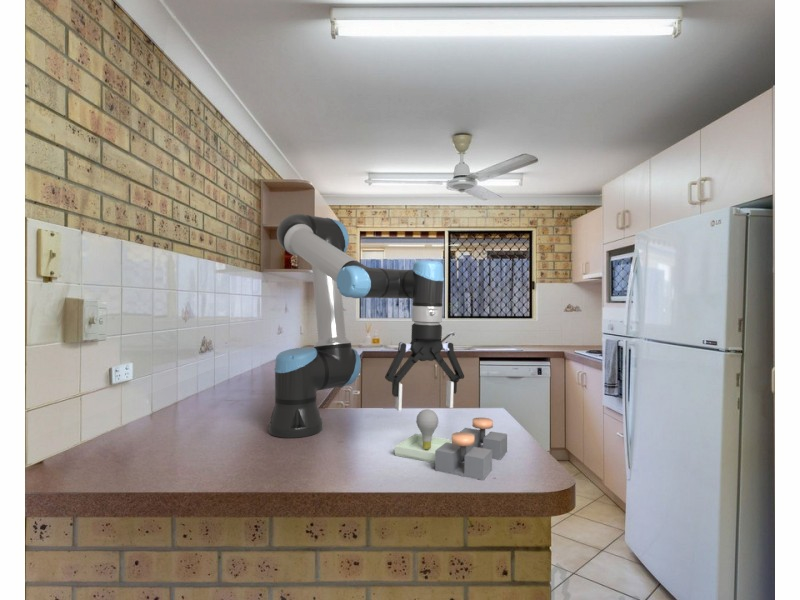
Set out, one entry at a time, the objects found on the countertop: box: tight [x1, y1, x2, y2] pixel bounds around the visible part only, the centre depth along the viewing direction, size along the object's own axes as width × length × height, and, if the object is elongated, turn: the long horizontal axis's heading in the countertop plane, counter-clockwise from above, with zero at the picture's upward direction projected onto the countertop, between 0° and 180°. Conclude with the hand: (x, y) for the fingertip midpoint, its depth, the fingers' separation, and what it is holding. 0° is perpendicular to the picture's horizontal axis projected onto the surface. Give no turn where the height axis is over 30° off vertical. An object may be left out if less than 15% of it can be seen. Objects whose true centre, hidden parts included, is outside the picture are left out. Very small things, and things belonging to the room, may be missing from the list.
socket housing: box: [434, 427, 508, 481], centre depth 104 cm, size 11×20×4 cm, turn 152°
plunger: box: [451, 431, 475, 463], centre depth 98 cm, size 5×5×6 cm
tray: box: [394, 433, 452, 464], centre depth 110 cm, size 12×12×2 cm
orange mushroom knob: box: [472, 417, 494, 444], centre depth 110 cm, size 5×5×6 cm
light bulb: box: [415, 408, 439, 450], centre depth 110 cm, size 6×6×10 cm
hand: (424, 408), depth 110 cm, fingers open, 13 cm apart
